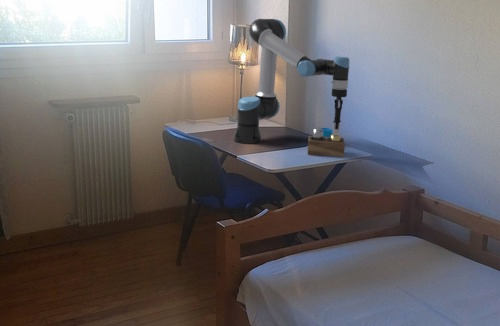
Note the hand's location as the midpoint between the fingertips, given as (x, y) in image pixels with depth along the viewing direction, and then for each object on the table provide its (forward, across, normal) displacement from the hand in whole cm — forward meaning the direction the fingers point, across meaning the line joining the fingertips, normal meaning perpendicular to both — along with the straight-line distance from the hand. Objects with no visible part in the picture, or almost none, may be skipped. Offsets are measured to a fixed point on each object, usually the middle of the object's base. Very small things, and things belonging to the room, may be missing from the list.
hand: (336, 134), depth 288 cm
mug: (+10, -19, -4) cm, 22 cm away
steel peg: (+5, 0, -9) cm, 10 cm away
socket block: (+10, 0, -5) cm, 11 cm away
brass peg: (+7, 0, 0) cm, 7 cm away
